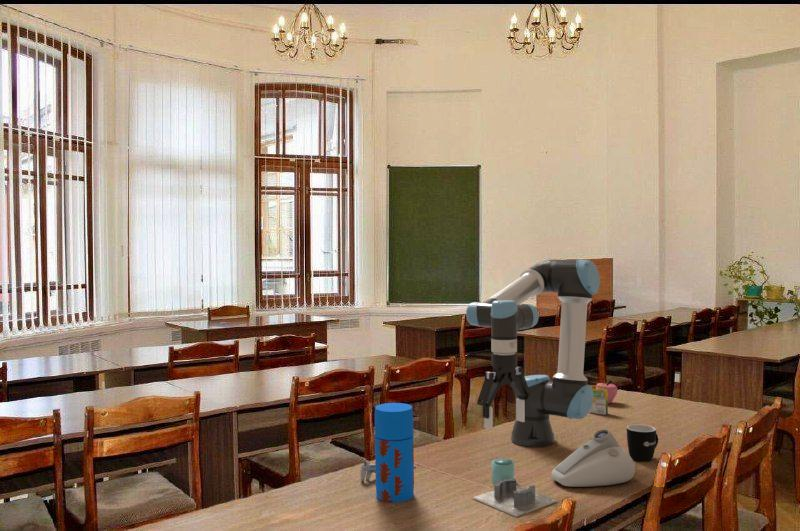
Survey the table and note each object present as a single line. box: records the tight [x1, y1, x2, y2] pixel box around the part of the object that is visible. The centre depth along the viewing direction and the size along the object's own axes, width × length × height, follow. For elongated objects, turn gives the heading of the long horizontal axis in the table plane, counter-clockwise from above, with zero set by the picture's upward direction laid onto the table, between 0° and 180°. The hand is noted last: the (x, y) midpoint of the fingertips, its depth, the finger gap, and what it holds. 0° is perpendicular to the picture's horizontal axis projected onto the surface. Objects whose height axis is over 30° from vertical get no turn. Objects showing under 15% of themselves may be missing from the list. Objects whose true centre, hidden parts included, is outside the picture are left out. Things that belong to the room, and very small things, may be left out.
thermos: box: [374, 402, 415, 503], centre depth 191 cm, size 11×11×25 cm
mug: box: [626, 423, 659, 463], centre depth 220 cm, size 12×9×10 cm
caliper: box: [360, 460, 416, 483], centre depth 208 cm, size 20×1×6 cm, turn 128°
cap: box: [491, 457, 515, 485], centre depth 200 cm, size 6×6×6 cm
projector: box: [551, 429, 636, 488], centre depth 202 cm, size 22×23×15 cm
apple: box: [595, 380, 618, 405], centre depth 295 cm, size 10×9×10 cm
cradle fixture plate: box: [472, 478, 558, 518], centre depth 186 cm, size 16×16×4 cm
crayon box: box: [588, 384, 609, 415], centre depth 279 cm, size 7×3×12 cm, turn 58°
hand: (504, 425), depth 200 cm, fingers open, 13 cm apart
